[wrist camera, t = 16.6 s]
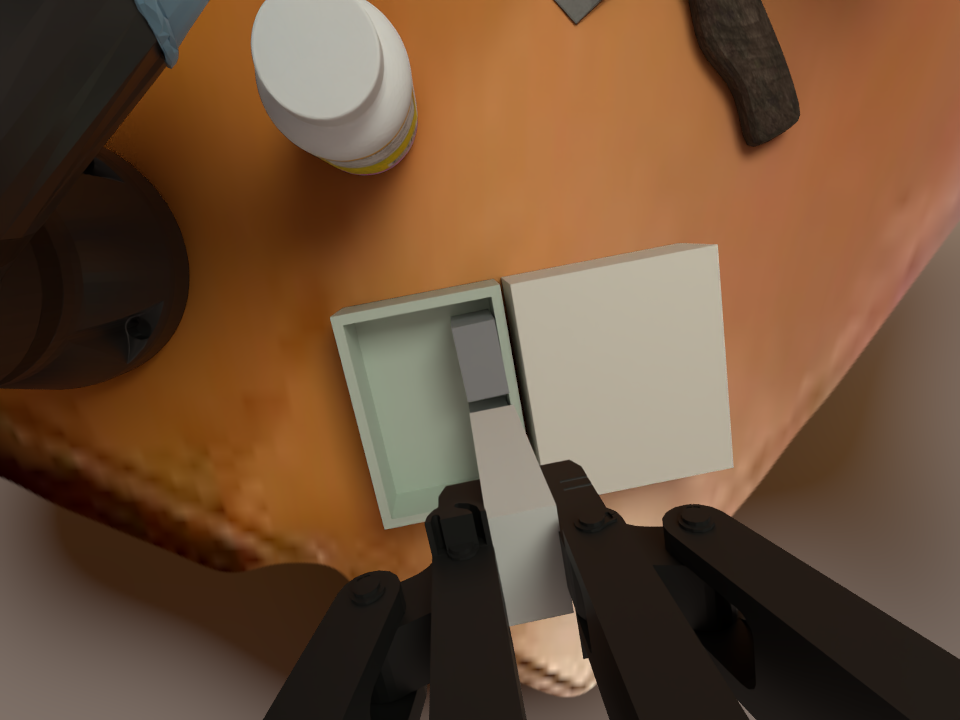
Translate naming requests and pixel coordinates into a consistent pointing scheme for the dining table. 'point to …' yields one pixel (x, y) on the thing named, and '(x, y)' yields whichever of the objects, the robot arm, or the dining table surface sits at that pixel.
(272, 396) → the dining table surface
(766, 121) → the cleaver
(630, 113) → the dining table surface
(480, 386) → the slate tile
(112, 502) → the dining table surface
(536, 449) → the plate
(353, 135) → the supplement bottle
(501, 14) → the dining table surface
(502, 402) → the slate tile
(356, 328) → the box
